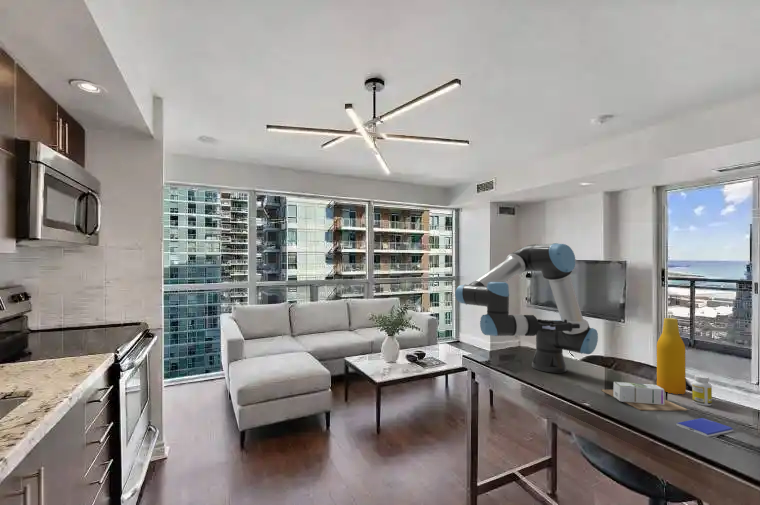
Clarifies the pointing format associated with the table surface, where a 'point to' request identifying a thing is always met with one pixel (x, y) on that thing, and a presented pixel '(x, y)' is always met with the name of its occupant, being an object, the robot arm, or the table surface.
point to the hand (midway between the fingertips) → (585, 325)
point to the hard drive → (705, 427)
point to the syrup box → (639, 393)
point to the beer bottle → (671, 359)
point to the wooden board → (652, 405)
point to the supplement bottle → (702, 391)
